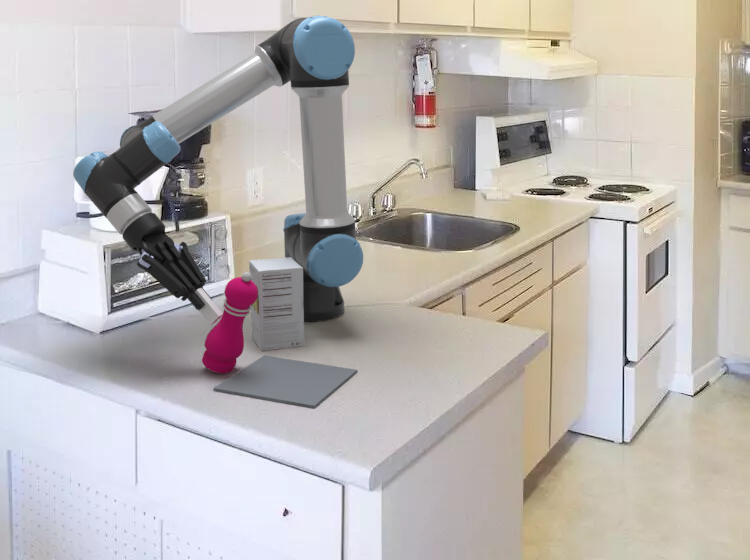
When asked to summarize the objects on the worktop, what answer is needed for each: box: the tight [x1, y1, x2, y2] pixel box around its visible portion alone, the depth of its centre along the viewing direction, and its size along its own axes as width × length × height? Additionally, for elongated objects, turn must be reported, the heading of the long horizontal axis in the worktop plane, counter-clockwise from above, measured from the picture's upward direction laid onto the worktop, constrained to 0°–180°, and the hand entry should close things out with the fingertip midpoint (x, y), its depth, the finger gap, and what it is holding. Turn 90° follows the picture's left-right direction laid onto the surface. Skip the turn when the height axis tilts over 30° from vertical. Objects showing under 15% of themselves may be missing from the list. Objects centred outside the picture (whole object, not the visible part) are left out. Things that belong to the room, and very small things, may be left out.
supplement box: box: [248, 257, 305, 352], centre depth 173 cm, size 10×9×17 cm
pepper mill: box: [201, 271, 258, 374], centre depth 156 cm, size 7×7×20 cm
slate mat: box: [213, 355, 358, 409], centre depth 155 cm, size 20×18×1 cm
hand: (217, 319), depth 157 cm, fingers closed
